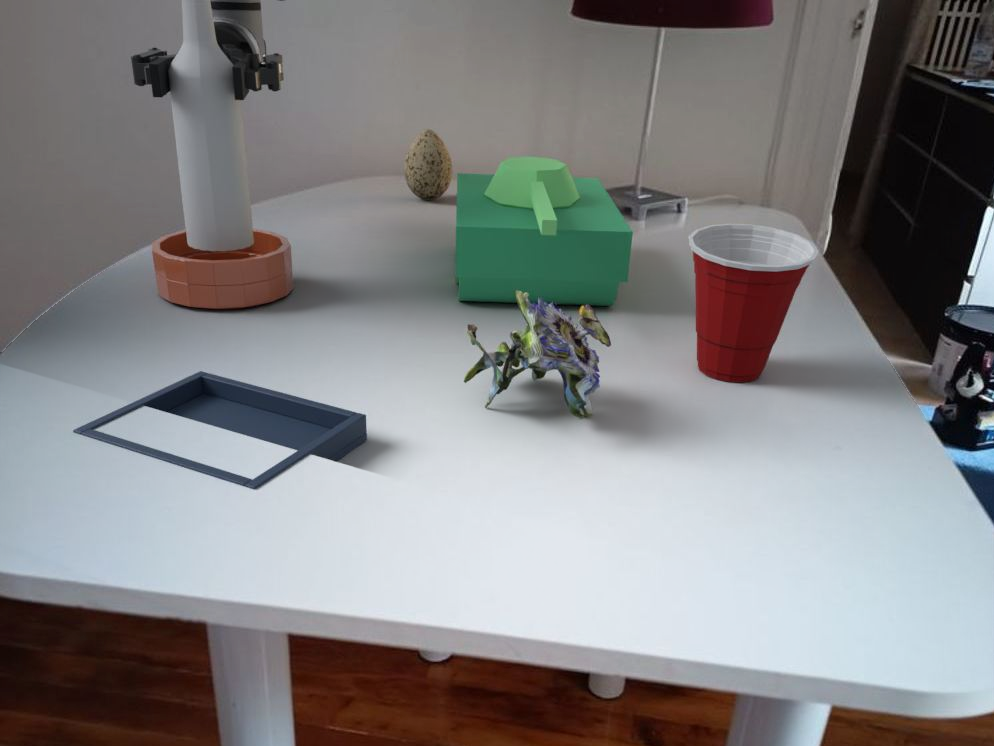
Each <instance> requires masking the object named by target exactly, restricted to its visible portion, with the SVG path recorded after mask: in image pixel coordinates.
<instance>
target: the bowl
mask: <svg viewBox="0 0 994 746" xmlns="http://www.w3.org/2000/svg"><path fill="white" fill-rule="evenodd" d="M253 239H254V244H253V245H251V246H250V247H246V248H244V249H238V250H233V251H230V250H228V251H209V250H207V251H204V250H200V249H194V248H192V247H190V246H189V245H188V243H187V235H186V229H184V230H179V231H177V232H172V233H169V234H166V235H162V236H160V237H159V238H158V239H156V240H153V242H152V243H151V252H152V260H153V267H154V273H155V281H156V287H157V294H158V296H160V297H161V298H163V299H165V300H166V301H167V302H170V303H172V304H177V305H181V306H186V307H191V308H195V309H196V308H198V309H205V310H234V309H244V308H251V307H256V306H261V305H265V304H268V303H271V302H274V301H277V300H279V299H281V298H284V297H286V296H288V295H289V294H290V292H292V291H293V289H294V288H295V287H294V274H293V258H292V245H291V243H290V241H289V239H288V237H286V236H283V235H281V234H279V233H277V232H273V231H269V230H263V229H259V228H253Z"/></svg>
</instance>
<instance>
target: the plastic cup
mask: <svg viewBox="0 0 994 746" xmlns="http://www.w3.org/2000/svg"><path fill="white" fill-rule="evenodd" d="M687 239H688V244H689V247H690V249H691V252H692V260H693V272H694V276H695V277H694V281H695V282H694V286H695V287H694V288H695V289H694V291H695V292H694V293H695V296H694V297H695V299H694V300H695V332H696V360H697V367H698V370H699V371H700V372H701V373H702V374H704V375H705V376H706V377H709V378H712V379H714V380H719V381H724V382H728V383H747V382H749V383H750V382H753V381H756V380H758V379H760V377H761V375H762V373H763V372H764V370H765V368H766V365H767V363H768V360H769V358H770V354H771V352H772V349H773V347H774V346H775V343H776V342H777V339H778V337H779V335H780V333H781V330H782V327H783V324H784V322H785V319H786V316H787V314H788V312H789V309H790V307H791V304H792V301H793V300H794V296H795V294H796V291H797V289H798V287H799V285H800V284H801V282H802V279H803V277H804V276H805V273H806V272H807V270H808V268H809V266H810V265H812V264H813V263H814V261H815V259H816V258H817V256H818V254H819V252H820V250H819V249H818V247H817V246H816V245H815V243H814V242H812V241H811V240H809V239H807V238H806V237H804V236H802V235H799V234H797V233H794V232H791V231H788V230H785V229H780V228H777V227H771V226H765V225H758V224H751V223H750V224H749V223H747V224H746V223H724V224H723V223H722V224H721V223H720V224H712V225H707V226H704V227H701V228H697V229H695V230H693V232H691V234H690V235H689V236H688V237H687Z"/></svg>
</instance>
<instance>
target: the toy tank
mask: <svg viewBox="0 0 994 746" xmlns="http://www.w3.org/2000/svg"><path fill="white" fill-rule="evenodd" d="M456 175H457V176H456V213H455V217H456V218H455V220H456V221H455V264H454V265H455V267H454V268H455V272H454V273H455V274H454V275H455V276H454V277H455V284H458V292H457V293H458V295H457V297H458V298H457V301H458V302H479V303H480V302H482V303H484V302H485V303H512V304H513V303H514V304H518V303H517V300H516V296H515V292H516V291H521V292H522V293H523V294H524V293H528V294H529V295H528V298H527V299H528V300H529V301H530V303H531V304H533V303H536V304H538V298H542V301H543V303H544V302H546V303H547V304H549V305H550V303H551V304H552V301H553V304H554V305H556V304H557V305H570V306H571V305H572V306H574V305H575V306H585V305H587V304H588V305H590V306H599V307H601V306H603V307H612V306H613V305H614V304H615V302H616V299H617V296H618V292H619V286H620V283H628V281H629V280H628V279H629V270H630V261H631V252H632V244H633V243H632V242H633V234H634V232H633V230H632V229H631V227H630V225H629V224H628V222H627V221H626V219H625V217H624V216H623V215H622V213H621V212H620V209H619V208H618V207H617V205H616V204H615V202H614V200H613V199H612V197H611V195H610V194H609V193H608V191H607V189H606V188H605V186H604V185H603V183H602V182H601V180H600V179H599V178H598V177H580V176H579V177H577V176H572V174H571V172H570V170H569V167H568V165H567V163H564V162H562V161H560V160H558V159H554V158H549V157H548V158H547V157H541V156H540V157H539V156H532V155H531V156H515V157H514V156H513V157H512V156H511V157H508V158H506V159H504V160H503V161H501V162H500V164H499V165H498V167H497V169H496V171H495V173H494V174H491V173H490V174H489V173H488V174H487V173H463V172H461V173H460V172H458V173H457V174H456Z"/></svg>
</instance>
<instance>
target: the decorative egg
mask: <svg viewBox="0 0 994 746" xmlns="http://www.w3.org/2000/svg"><path fill="white" fill-rule="evenodd" d="M403 168H404V169H403V172H404V173H403V175H404V179H405V181H406V185H407V187H408V188H409V190H410V191H411V192H412V193H413V194H414V195H415V197H418V198H419V199H421V200H423V201H433V200H437V199H439V198H440V197H442V196H443V195H444V194H445V193H446V192H447V190H448V189H449V187H450V185H451V182H452V179H453V164H452V159H451V156H450V153H449V150H448V147H447V146H446V144H445V143H444V141H443V140H442V138H441V137H440V136H439V135H438V133H436V132H435V130H432V129H430V128H429V129H425V130H423V131H422V132H420V133H419V134H418V135H417V136H416V138H415V139H414V140H413V141H412V143H411V144H410V147H409V149H408V150H407V152H406V156H405V159H404V165H403Z"/></svg>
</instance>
